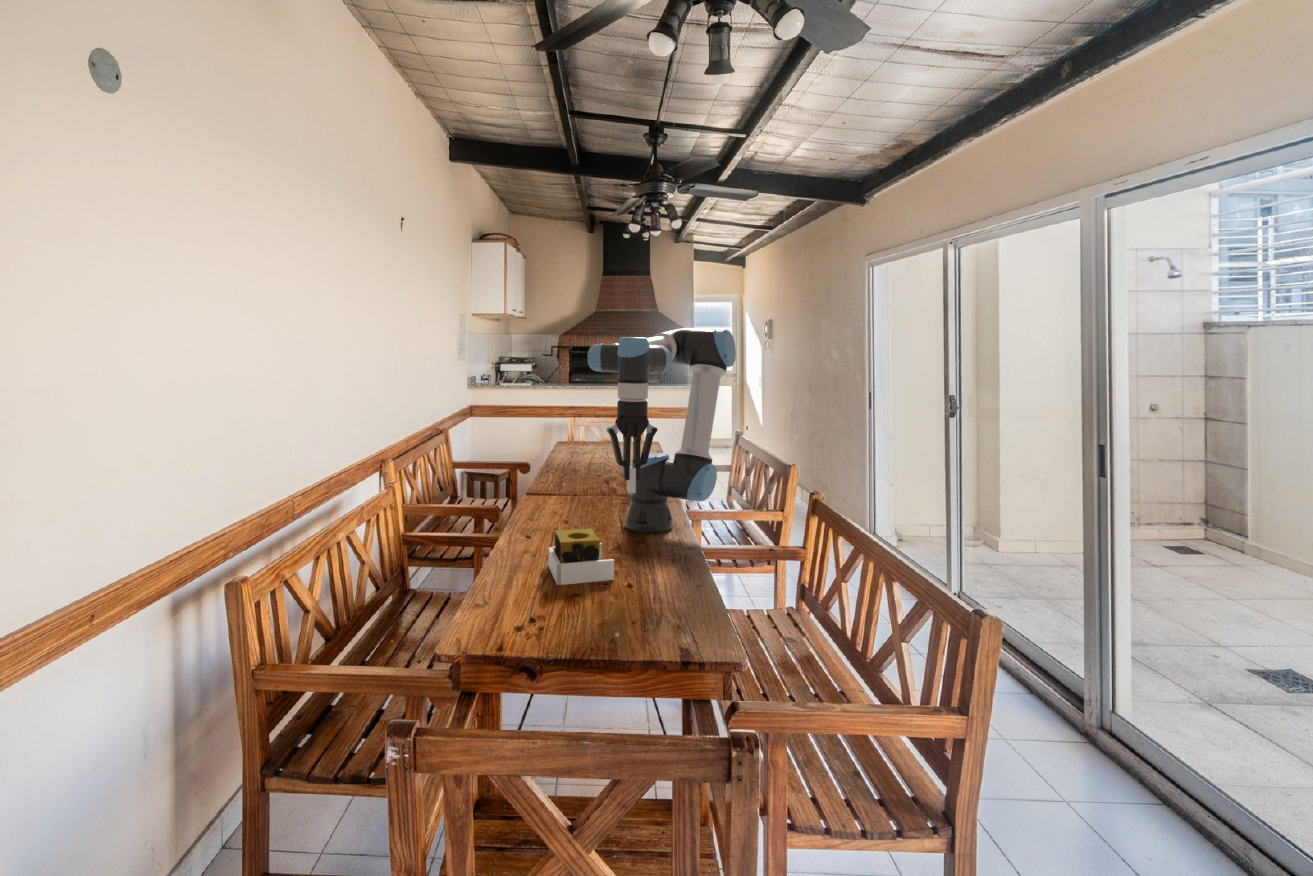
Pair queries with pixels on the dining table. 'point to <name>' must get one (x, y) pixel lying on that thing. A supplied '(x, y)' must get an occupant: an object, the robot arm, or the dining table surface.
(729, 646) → the dining table surface
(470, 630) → the dining table surface
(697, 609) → the dining table surface
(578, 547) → the candle
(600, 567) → the frame
